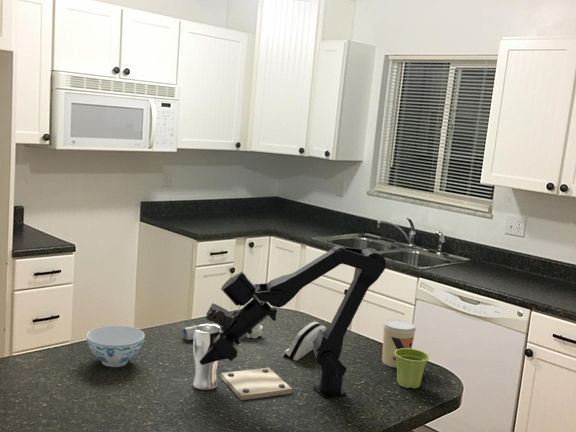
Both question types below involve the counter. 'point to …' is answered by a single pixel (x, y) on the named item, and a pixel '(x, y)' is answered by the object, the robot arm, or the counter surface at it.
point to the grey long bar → (189, 331)
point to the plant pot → (410, 367)
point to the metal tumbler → (201, 346)
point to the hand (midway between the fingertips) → (201, 358)
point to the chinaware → (115, 344)
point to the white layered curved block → (304, 341)
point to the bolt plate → (255, 383)
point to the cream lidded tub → (396, 339)
